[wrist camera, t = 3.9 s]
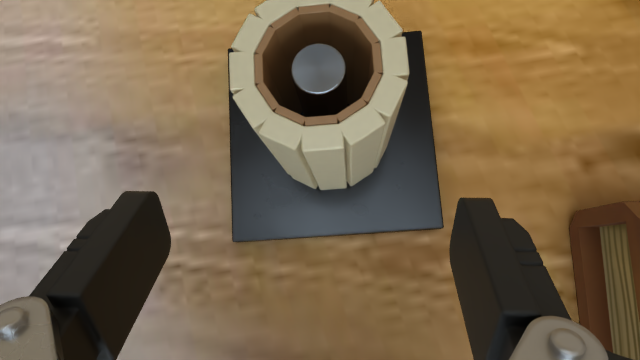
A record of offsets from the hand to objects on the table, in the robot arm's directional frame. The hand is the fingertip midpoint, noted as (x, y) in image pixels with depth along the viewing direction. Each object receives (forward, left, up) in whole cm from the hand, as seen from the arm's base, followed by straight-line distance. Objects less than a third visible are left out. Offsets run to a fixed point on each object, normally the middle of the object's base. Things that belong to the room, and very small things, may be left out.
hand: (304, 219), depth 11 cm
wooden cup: (0, +6, -11) cm, 12 cm away
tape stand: (0, +6, -12) cm, 13 cm away
